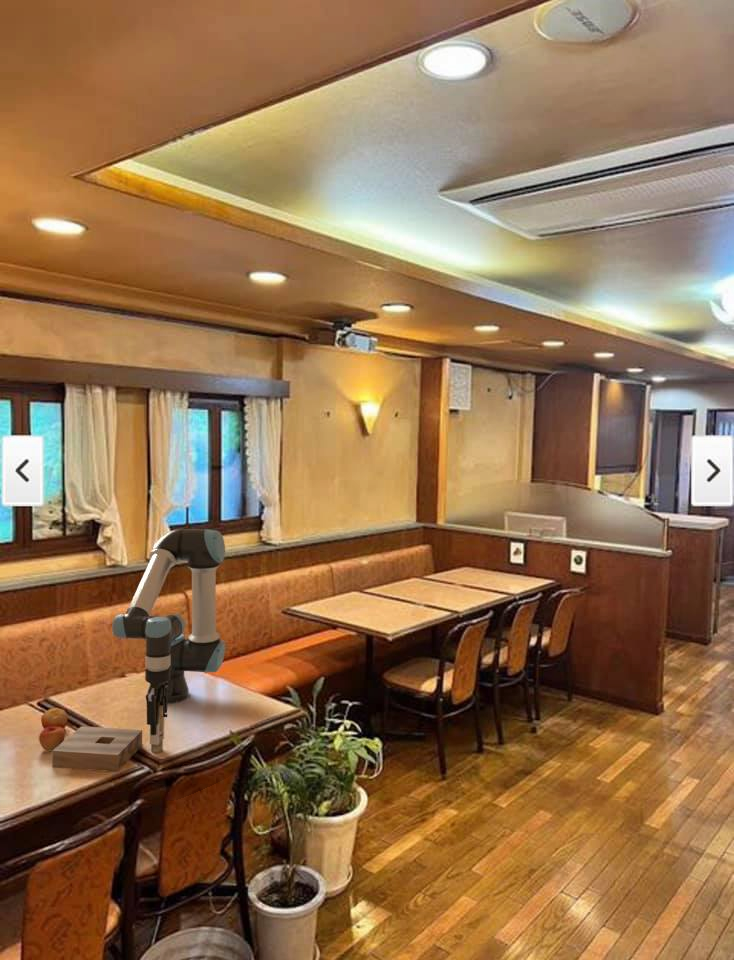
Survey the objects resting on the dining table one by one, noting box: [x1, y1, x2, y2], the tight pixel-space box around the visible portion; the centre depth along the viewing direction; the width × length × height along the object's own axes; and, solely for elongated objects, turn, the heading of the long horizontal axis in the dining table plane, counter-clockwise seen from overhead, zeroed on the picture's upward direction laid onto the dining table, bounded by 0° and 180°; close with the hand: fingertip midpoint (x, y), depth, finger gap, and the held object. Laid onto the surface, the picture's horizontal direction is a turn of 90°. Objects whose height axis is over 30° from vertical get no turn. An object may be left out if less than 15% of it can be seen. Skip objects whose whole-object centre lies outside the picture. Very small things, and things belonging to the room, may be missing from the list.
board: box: [51, 725, 143, 773], centre depth 215 cm, size 18×20×5 cm
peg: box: [150, 705, 164, 754], centre depth 220 cm, size 4×4×14 cm
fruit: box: [40, 707, 69, 730], centre depth 233 cm, size 8×8×8 cm
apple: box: [38, 725, 66, 752], centre depth 219 cm, size 7×7×8 cm
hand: (157, 740), depth 220 cm, fingers closed on peg, 3 cm apart
